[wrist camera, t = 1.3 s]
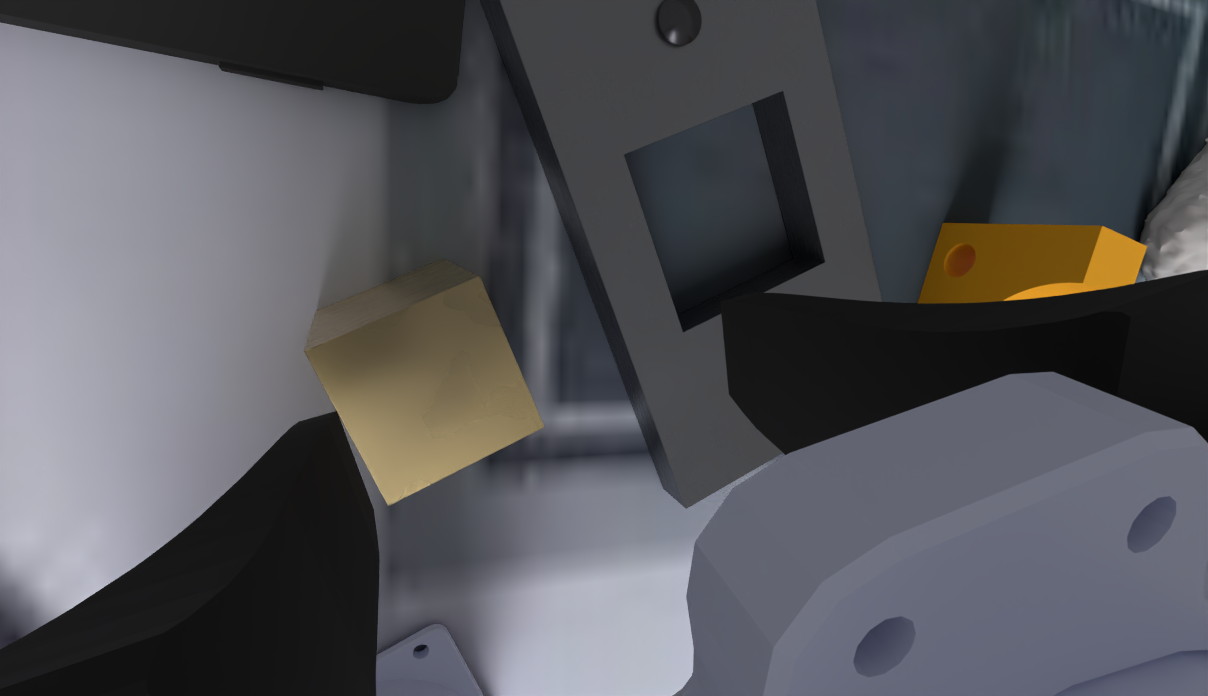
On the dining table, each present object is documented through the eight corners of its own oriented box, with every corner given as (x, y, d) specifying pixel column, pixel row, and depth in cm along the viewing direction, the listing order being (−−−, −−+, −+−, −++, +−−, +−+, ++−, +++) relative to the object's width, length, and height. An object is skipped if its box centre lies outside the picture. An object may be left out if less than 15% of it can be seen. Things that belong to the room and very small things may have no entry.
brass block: (376, 426, 20) (388, 505, 15) (316, 311, 19) (303, 351, 14) (493, 371, 21) (544, 426, 16) (443, 258, 20) (479, 275, 15)
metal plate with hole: (663, 488, 25) (688, 511, 23) (472, -20, 19) (485, -45, 17) (866, 374, 27) (904, 386, 25) (752, -105, 21) (791, -134, 20)
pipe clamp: (924, 503, 30) (1064, 573, 24) (854, 492, 29) (986, 565, 23) (1007, 249, 29) (1175, 259, 23) (939, 222, 27) (1102, 226, 21)
